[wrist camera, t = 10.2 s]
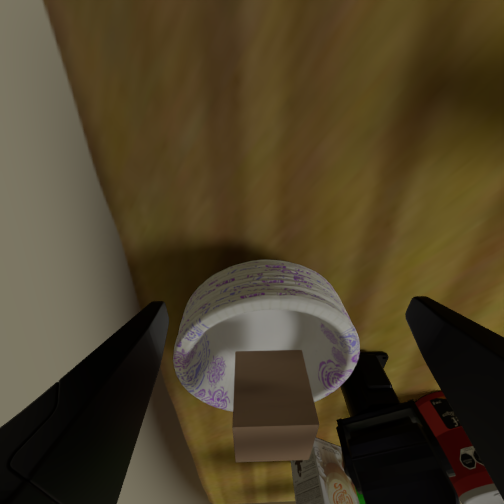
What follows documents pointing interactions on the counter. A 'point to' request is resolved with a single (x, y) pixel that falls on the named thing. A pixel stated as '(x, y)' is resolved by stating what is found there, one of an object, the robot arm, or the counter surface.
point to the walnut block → (272, 407)
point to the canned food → (458, 452)
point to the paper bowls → (263, 328)
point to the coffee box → (322, 477)
